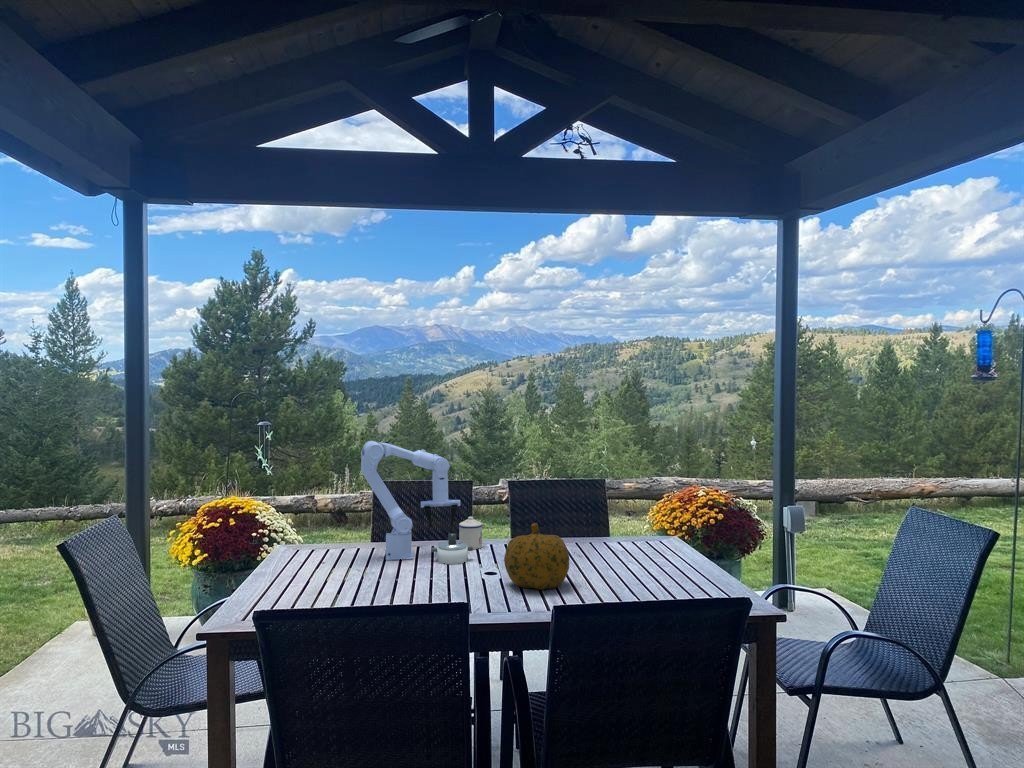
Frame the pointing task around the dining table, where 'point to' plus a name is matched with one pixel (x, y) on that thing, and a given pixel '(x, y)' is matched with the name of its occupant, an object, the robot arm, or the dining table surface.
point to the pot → (452, 555)
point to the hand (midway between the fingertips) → (441, 525)
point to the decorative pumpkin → (537, 560)
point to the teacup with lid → (471, 533)
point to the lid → (452, 543)
